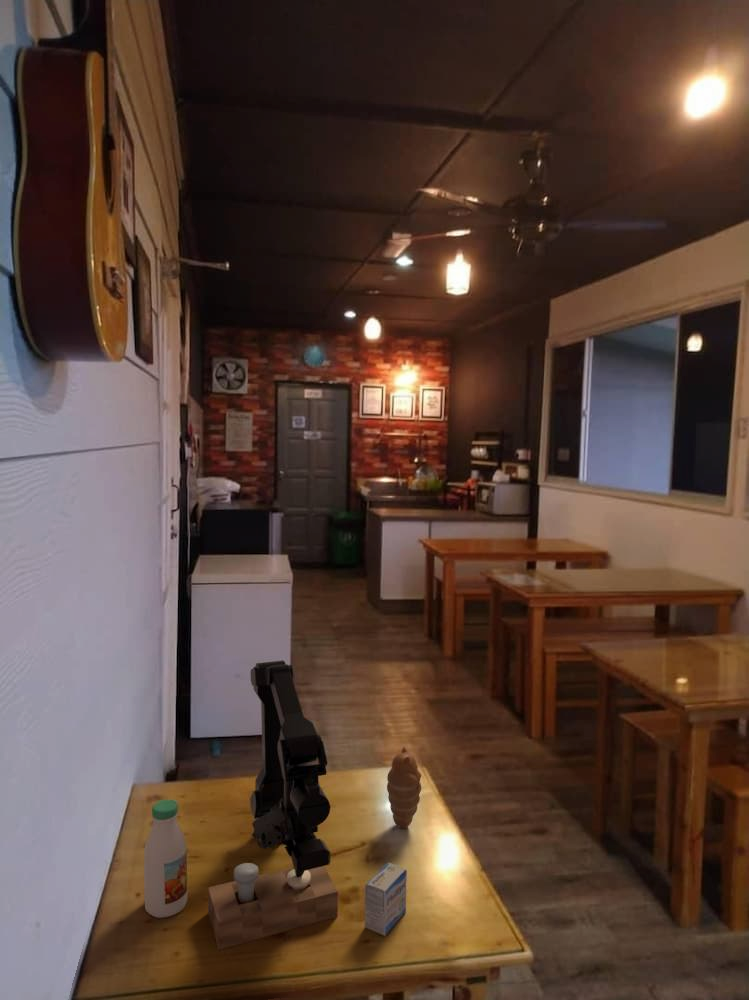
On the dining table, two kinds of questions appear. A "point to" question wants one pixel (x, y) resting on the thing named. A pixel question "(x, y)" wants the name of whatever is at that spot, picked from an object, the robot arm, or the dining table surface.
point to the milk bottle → (165, 862)
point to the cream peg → (298, 880)
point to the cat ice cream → (403, 788)
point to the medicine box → (385, 898)
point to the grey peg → (246, 881)
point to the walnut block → (270, 907)
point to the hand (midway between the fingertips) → (298, 875)
